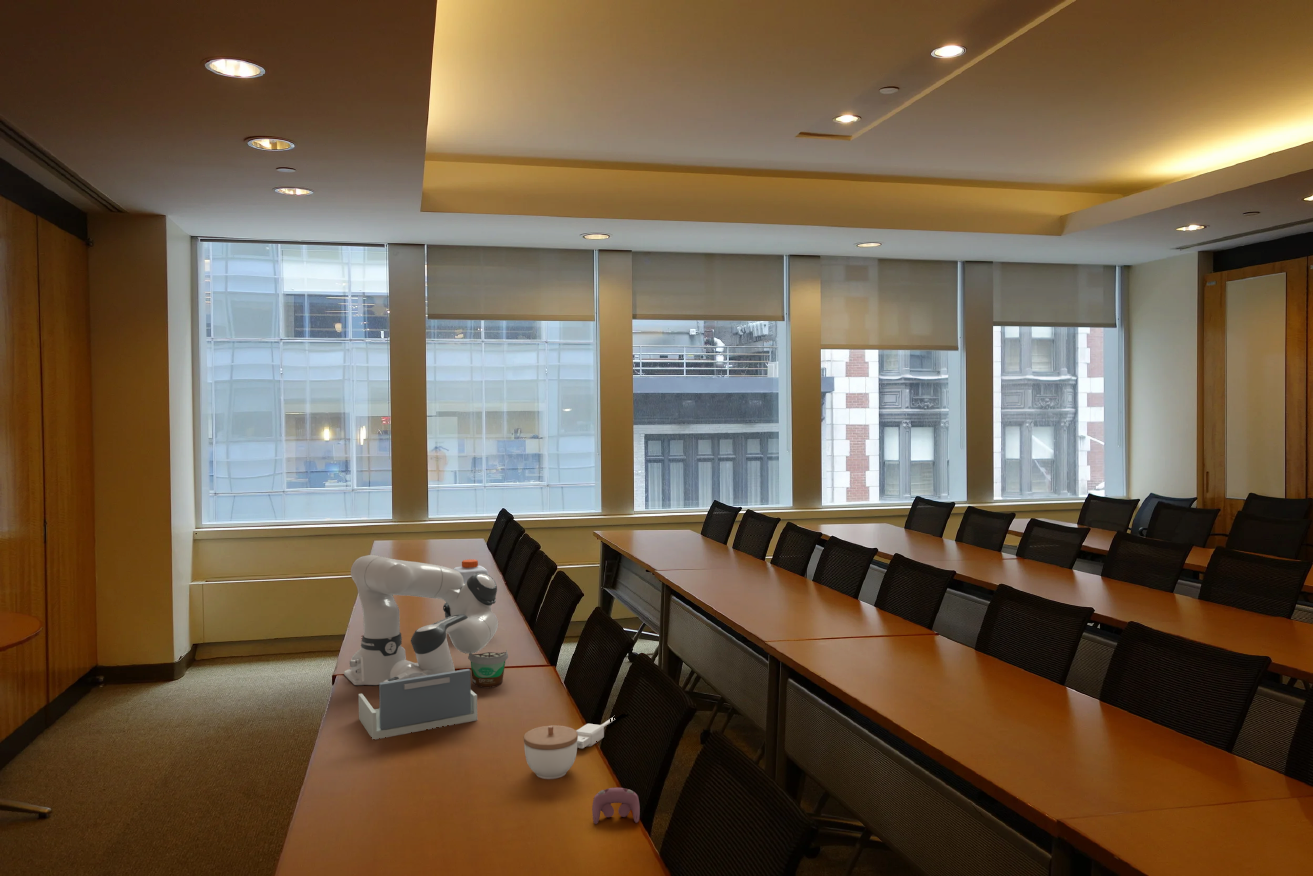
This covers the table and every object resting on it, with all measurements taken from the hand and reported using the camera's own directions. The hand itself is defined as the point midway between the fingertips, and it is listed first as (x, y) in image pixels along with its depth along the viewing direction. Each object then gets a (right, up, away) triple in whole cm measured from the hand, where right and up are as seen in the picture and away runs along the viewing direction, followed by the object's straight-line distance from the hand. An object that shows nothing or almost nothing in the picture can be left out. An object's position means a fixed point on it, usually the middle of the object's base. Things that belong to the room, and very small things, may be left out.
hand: (427, 700), depth 237 cm
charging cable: (+47, -8, -2) cm, 48 cm away
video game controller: (+53, -9, -53) cm, 76 cm away
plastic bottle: (-10, -5, +102) cm, 102 cm away
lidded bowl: (+37, -8, -30) cm, 48 cm away
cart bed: (-4, -7, +7) cm, 11 cm away
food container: (+9, -6, +37) cm, 39 cm away
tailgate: (0, -5, -1) cm, 5 cm away
